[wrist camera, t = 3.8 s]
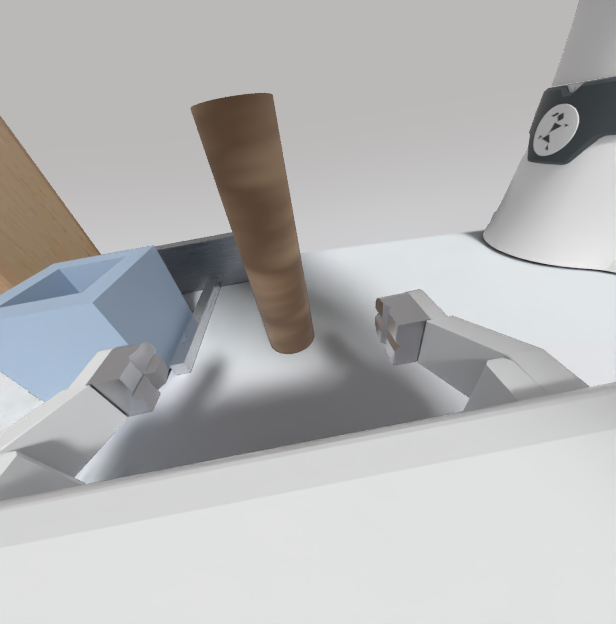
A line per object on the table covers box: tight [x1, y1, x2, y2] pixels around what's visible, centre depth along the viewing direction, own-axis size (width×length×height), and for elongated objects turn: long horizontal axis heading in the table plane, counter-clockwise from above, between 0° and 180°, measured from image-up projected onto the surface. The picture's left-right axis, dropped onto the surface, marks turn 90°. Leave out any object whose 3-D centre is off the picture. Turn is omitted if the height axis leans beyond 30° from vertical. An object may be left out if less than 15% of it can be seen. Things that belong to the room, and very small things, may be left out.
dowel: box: [191, 93, 314, 354], centre depth 16 cm, size 4×4×16 cm
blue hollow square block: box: [0, 245, 193, 402], centre depth 20 cm, size 9×9×8 cm
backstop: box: [28, 232, 249, 400], centre depth 24 cm, size 20×16×6 cm
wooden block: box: [0, 117, 101, 295], centre depth 26 cm, size 10×10×20 cm
